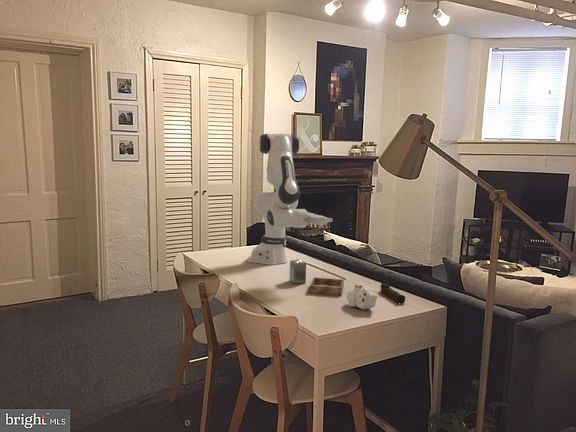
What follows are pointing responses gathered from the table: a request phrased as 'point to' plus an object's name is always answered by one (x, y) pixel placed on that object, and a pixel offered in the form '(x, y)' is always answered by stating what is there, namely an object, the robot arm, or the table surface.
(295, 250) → the table surface
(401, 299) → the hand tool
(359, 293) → the cat figurine
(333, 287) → the walnut tray
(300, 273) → the gravel tin
